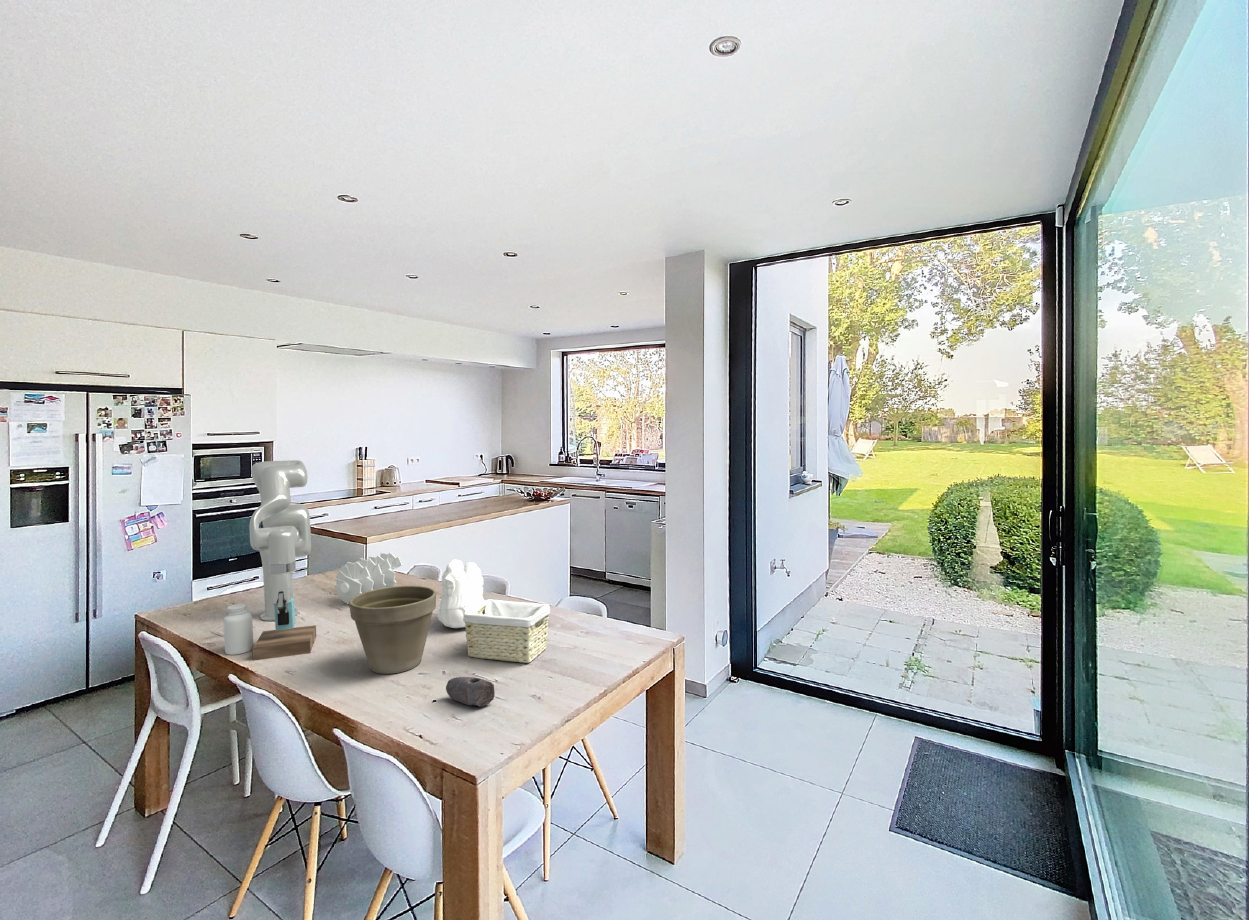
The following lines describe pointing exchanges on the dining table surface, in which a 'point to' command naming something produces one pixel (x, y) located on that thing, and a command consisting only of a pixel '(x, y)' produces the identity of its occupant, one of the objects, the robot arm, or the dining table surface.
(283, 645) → the wavy brown panel
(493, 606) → the storage basket
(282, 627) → the teal carton
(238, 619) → the pill bottle
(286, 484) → the robot arm
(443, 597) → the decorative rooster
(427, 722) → the dining table surface
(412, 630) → the plant pot
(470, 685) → the perforated stone tool
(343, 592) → the spiral staircase
